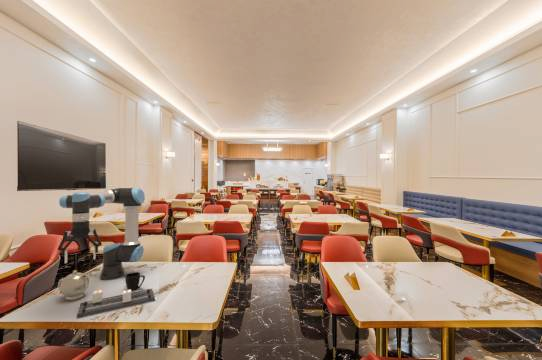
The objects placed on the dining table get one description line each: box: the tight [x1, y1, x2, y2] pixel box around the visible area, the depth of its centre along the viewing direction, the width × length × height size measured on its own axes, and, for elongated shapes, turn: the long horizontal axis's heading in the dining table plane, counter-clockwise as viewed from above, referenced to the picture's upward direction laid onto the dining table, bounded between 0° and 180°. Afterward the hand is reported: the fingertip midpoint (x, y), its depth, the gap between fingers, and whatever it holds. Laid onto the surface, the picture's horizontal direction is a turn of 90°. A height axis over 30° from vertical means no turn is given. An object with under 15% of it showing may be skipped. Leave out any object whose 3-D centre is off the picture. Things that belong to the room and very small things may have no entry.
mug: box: [124, 271, 146, 292], centre depth 161 cm, size 8×12×10 cm
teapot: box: [57, 269, 90, 301], centre depth 150 cm, size 18×14×16 cm
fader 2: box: [122, 289, 132, 303], centre depth 140 cm, size 4×4×5 cm
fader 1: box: [92, 289, 103, 303], centre depth 140 cm, size 4×4×5 cm
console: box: [76, 288, 156, 319], centre depth 142 cm, size 14×36×3 cm, turn 121°
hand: (80, 260), depth 136 cm, fingers open, 12 cm apart
